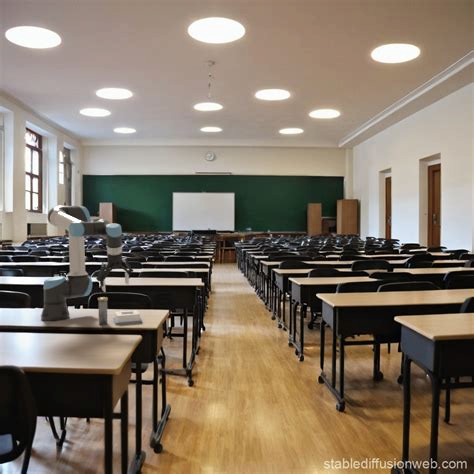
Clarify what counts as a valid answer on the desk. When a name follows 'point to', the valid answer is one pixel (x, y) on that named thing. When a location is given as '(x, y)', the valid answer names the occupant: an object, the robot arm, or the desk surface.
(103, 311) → the grey metal peg
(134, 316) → the socket block
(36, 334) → the desk surface
